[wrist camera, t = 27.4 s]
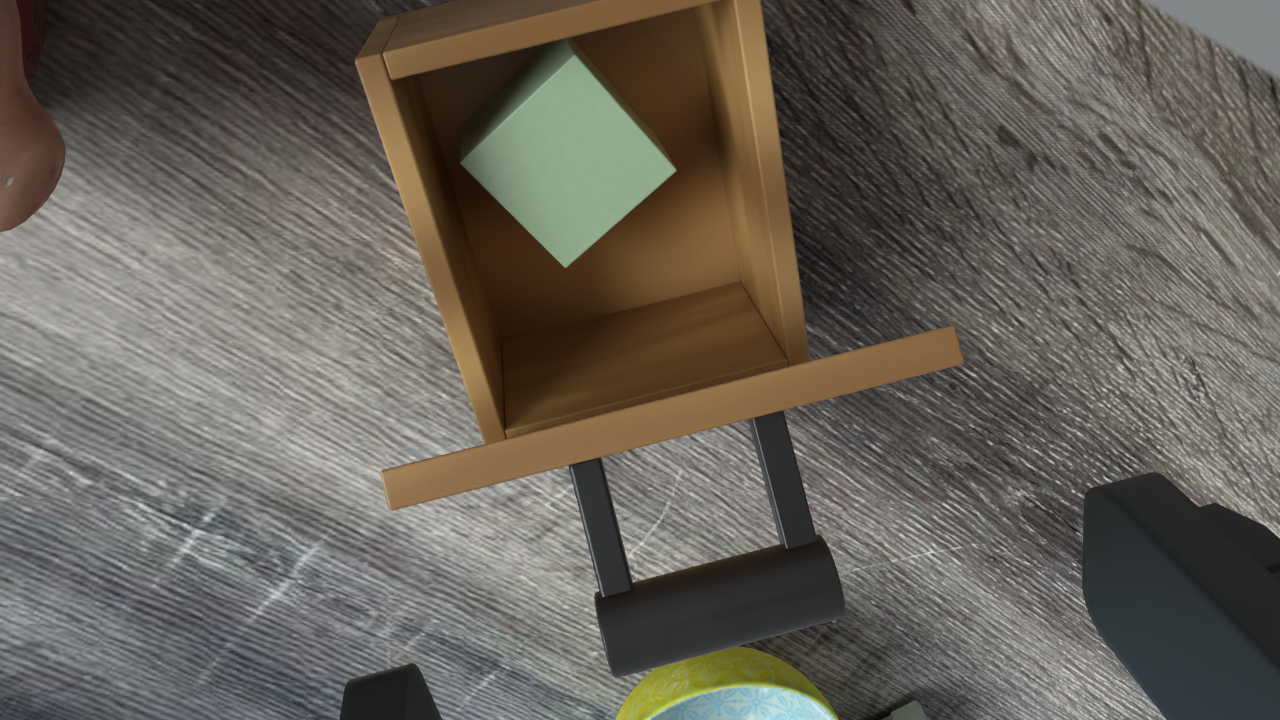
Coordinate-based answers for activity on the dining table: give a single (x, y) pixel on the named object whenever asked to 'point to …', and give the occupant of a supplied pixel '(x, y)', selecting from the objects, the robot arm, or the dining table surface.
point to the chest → (630, 251)
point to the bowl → (726, 690)
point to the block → (563, 151)
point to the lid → (713, 592)
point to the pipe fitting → (908, 712)
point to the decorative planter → (24, 117)
